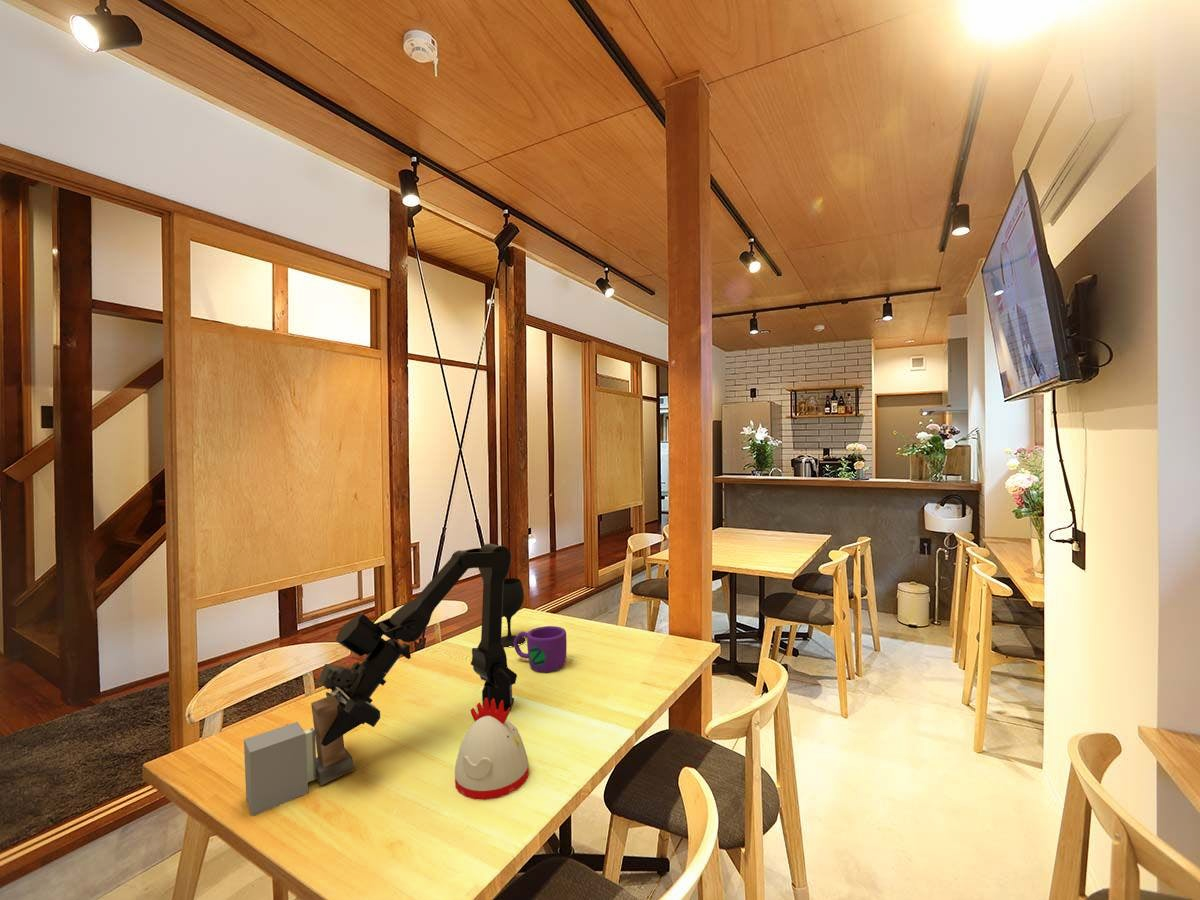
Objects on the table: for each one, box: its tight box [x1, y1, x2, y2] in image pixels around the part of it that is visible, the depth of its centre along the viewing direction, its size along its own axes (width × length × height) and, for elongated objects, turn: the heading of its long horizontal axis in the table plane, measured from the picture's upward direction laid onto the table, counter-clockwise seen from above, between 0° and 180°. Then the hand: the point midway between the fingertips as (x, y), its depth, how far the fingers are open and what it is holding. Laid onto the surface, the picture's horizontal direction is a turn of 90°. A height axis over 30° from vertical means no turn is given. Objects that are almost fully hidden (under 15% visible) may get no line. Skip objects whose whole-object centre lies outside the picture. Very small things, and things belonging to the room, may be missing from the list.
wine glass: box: [501, 577, 526, 648], centre depth 176 cm, size 10×10×20 cm
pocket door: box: [304, 727, 317, 783], centre depth 101 cm, size 8×2×9 cm, turn 132°
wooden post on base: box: [310, 695, 355, 786], centre depth 105 cm, size 6×6×14 cm
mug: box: [513, 625, 568, 673], centre depth 156 cm, size 17×11×10 cm, turn 63°
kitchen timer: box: [454, 697, 530, 801], centre depth 103 cm, size 14×14×15 cm
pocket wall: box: [243, 721, 309, 817], centre depth 99 cm, size 9×6×11 cm
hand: (320, 740), depth 104 cm, fingers closed on wooden post on base, 4 cm apart
